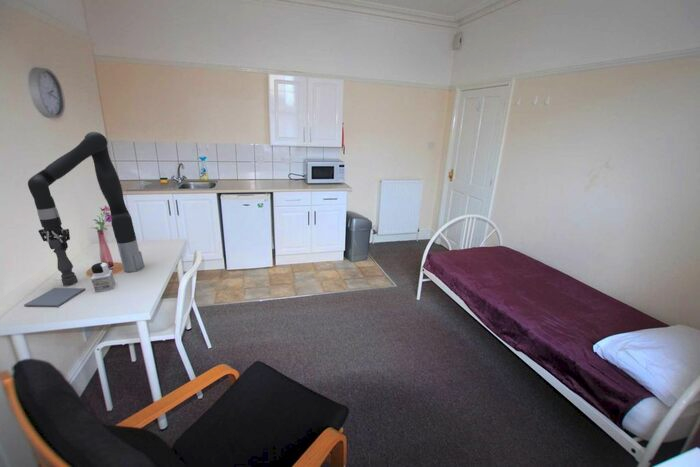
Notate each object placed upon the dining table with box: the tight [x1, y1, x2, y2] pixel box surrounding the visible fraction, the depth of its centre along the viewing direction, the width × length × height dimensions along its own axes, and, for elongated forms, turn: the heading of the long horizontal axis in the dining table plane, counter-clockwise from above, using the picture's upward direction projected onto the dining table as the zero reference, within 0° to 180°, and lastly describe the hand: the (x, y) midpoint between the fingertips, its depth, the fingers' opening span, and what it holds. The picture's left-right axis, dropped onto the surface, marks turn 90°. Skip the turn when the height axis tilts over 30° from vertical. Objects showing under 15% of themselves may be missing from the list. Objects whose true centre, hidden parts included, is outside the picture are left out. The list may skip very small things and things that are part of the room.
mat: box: [23, 287, 86, 308], centre depth 160 cm, size 16×16×1 cm
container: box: [90, 262, 116, 293], centre depth 168 cm, size 8×8×13 cm
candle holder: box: [49, 237, 79, 287], centre depth 171 cm, size 6×6×25 cm
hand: (59, 248), depth 169 cm, fingers closed on candle holder, 5 cm apart
